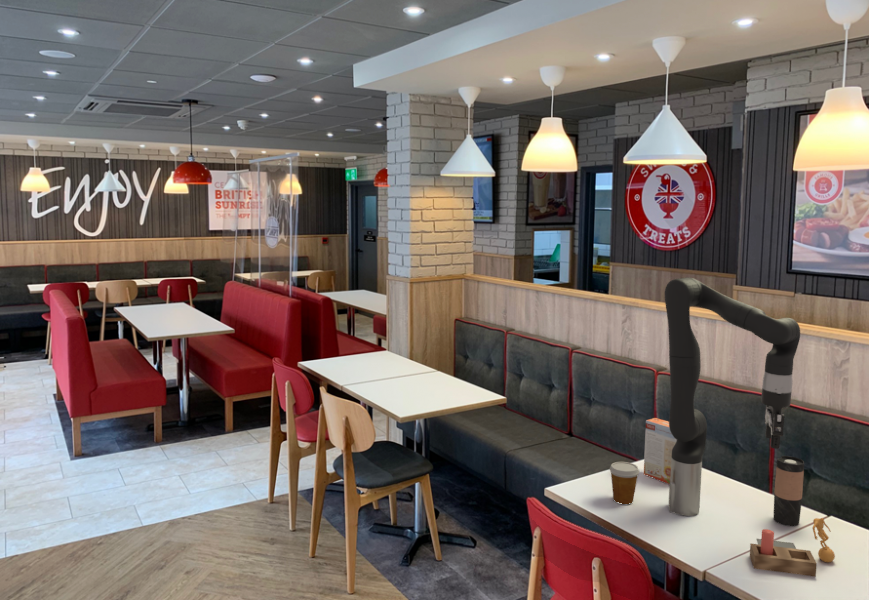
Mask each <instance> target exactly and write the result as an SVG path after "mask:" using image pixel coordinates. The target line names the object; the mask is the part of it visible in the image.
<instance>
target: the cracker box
mask: <svg viewBox="0 0 869 600" xmlns="http://www.w3.org/2000/svg"><path fill="white" fill-rule="evenodd" d="M644 434H645V435H644V436H645V437H644V457H643V458H644V459H643V475H644V474H645V475H644V476H646V475H648V476H647V477H649V476H650V477H649V478H651V477H653V478H652V479H654V478H655V480H657V481H659V480H660V481H659V482H662V483H664V482H665V484H667V485H670V477H671V456H672V449H673V447H674V445H675V444H676V441H677V440H676V439H675V438H674V437H673V435H672V434H671V431H670V428H669V420H665V419H662V418H661V419H660V418H658V417H652V418H650V419H646V420H645V433H644Z"/></svg>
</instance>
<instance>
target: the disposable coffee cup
mask: <svg viewBox="0 0 869 600" xmlns="http://www.w3.org/2000/svg"><path fill="white" fill-rule="evenodd" d="M609 471H610V473H611V474H610V477H611V488H612V499H614V500H615V501H616V502H619V503H622V504H629V503H632V502H634V497H635V493H636V486H637V481H638V475H639V474H640V469H639V467H638V465H637V464H634V463H631V462H627V461H616V462H613V463H611V464H610V467H609ZM614 500H613V501H614ZM616 502H615V503H616ZM622 504H621V505H622ZM632 504H633V503H632ZM629 505H630V504H629Z"/></svg>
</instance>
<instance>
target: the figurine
mask: <svg viewBox="0 0 869 600" xmlns="http://www.w3.org/2000/svg"><path fill="white" fill-rule="evenodd" d="M812 521H813V525H812V531H813V535H814V540H816V541H818V538H820V539H821V540H820V545H821V548H819V550H818V552H817V553H818V555H817V556H818V558H819V559H820V560H821V561H822V562H824V563H832V562H833V561H834V560H835V558H836V555H835V552H834V551H833V550H832V549H831V548H830V547H829V546H828V545H827V543H826V542H827V541H828V540H829V538H830V537H829V536H828V535H827V533H826V531H825V530H824V527H825V528H827V529H828V531H829V532H831V529H830V528H829V526H828V524H826V522H825V519H824V518H823V517H821V518H818V517H815V518H813V520H812ZM815 528H816V529H817V533H816V530H815ZM817 535H818V536H817Z"/></svg>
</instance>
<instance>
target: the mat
mask: <svg viewBox="0 0 869 600" xmlns="http://www.w3.org/2000/svg"><path fill="white" fill-rule="evenodd" d="M756 541H757V542H756V543H757V544H760V545H761V538H756ZM773 546H776V547H784V548H792V549H797V548H796V547H797V546H796V545H795V543H794V542H788V541H781V540H774V542H773Z"/></svg>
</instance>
